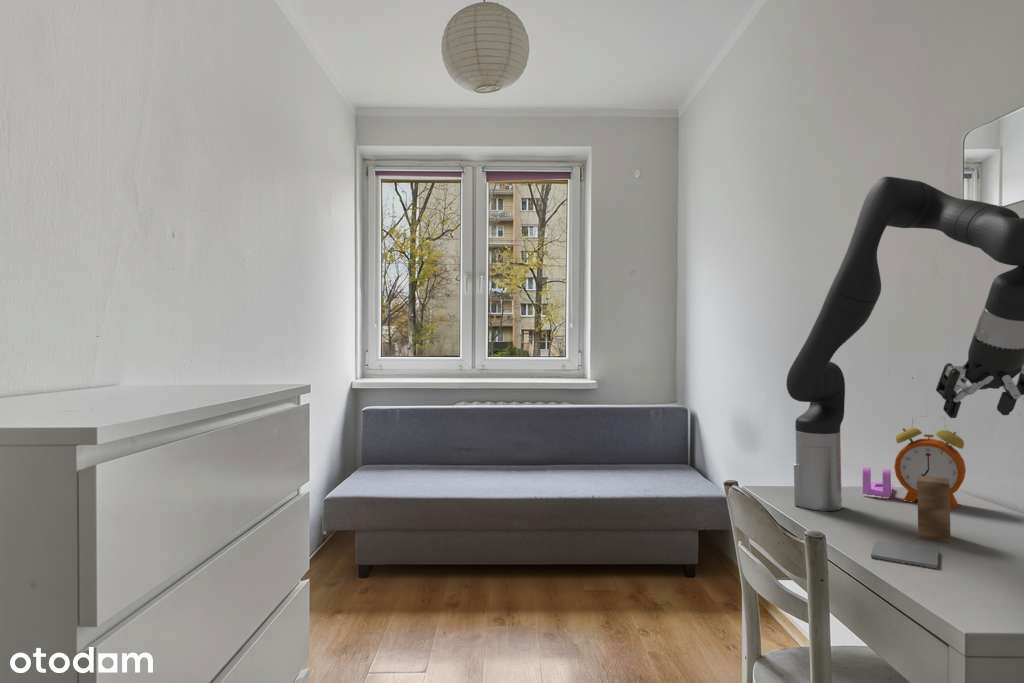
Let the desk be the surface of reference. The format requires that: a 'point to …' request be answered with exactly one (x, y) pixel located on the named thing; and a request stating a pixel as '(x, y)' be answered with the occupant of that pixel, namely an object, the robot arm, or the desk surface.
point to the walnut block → (934, 508)
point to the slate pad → (905, 553)
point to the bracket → (877, 483)
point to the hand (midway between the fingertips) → (975, 413)
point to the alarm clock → (929, 461)
